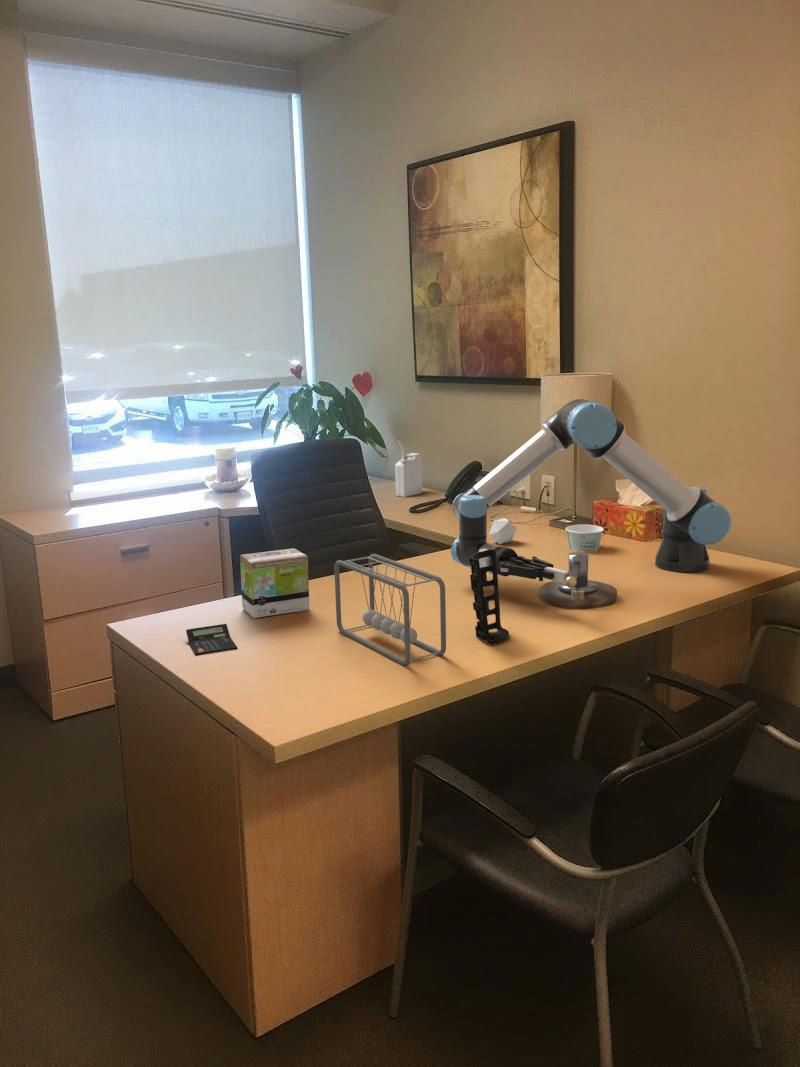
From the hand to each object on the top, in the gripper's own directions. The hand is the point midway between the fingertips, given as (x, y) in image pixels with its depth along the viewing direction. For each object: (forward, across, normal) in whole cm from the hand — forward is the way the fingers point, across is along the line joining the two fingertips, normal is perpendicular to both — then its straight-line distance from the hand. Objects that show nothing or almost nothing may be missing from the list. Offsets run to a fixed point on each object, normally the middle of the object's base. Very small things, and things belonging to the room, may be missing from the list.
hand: (566, 577), depth 214 cm
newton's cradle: (-13, +45, -10) cm, 48 cm away
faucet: (-3, -7, -7) cm, 10 cm away
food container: (-41, -55, -10) cm, 70 cm away
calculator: (-40, +75, -10) cm, 86 cm away
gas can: (-155, -75, -10) cm, 173 cm away
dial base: (-8, -13, -9) cm, 18 cm away
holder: (-1, +25, -10) cm, 27 cm away
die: (-65, -42, -10) cm, 78 cm away
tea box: (-52, +51, -10) cm, 74 cm away
